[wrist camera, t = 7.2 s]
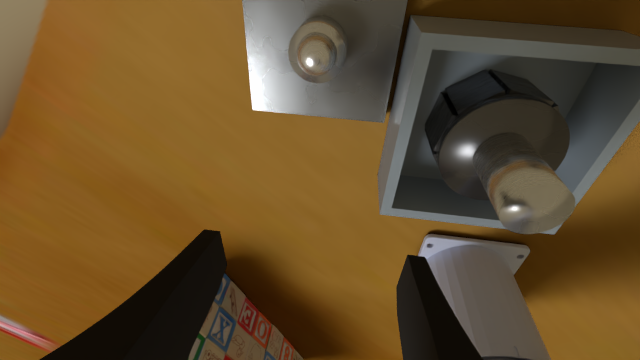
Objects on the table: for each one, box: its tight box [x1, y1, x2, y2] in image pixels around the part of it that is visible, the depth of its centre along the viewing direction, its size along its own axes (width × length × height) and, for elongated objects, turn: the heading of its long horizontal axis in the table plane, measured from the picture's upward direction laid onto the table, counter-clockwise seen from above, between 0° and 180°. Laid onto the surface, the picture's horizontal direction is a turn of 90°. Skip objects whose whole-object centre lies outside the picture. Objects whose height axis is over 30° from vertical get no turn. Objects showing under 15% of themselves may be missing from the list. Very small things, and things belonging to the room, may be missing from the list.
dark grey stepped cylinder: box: [424, 69, 576, 234], centre depth 15 cm, size 6×6×8 cm
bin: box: [378, 15, 640, 235], centre depth 17 cm, size 10×10×4 cm
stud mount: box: [242, 0, 408, 123], centre depth 16 cm, size 8×8×4 cm
